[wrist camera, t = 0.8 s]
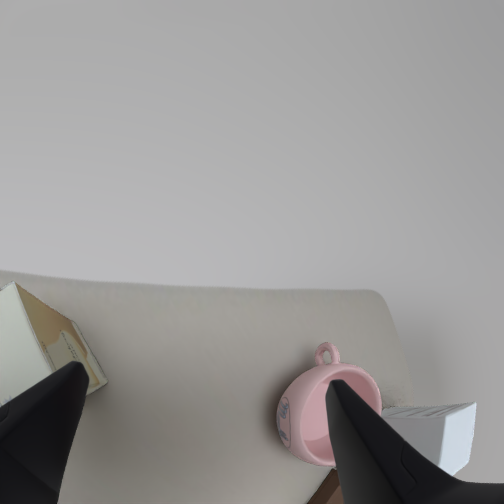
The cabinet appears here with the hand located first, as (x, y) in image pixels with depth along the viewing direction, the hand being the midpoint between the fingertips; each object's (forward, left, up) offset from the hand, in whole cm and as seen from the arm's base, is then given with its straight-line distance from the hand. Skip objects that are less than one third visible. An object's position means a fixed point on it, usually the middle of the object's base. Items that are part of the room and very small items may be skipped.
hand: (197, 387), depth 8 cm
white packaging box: (+6, -24, -15) cm, 29 cm away
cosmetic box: (-6, +7, -15) cm, 18 cm away
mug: (+5, -13, -15) cm, 21 cm away
